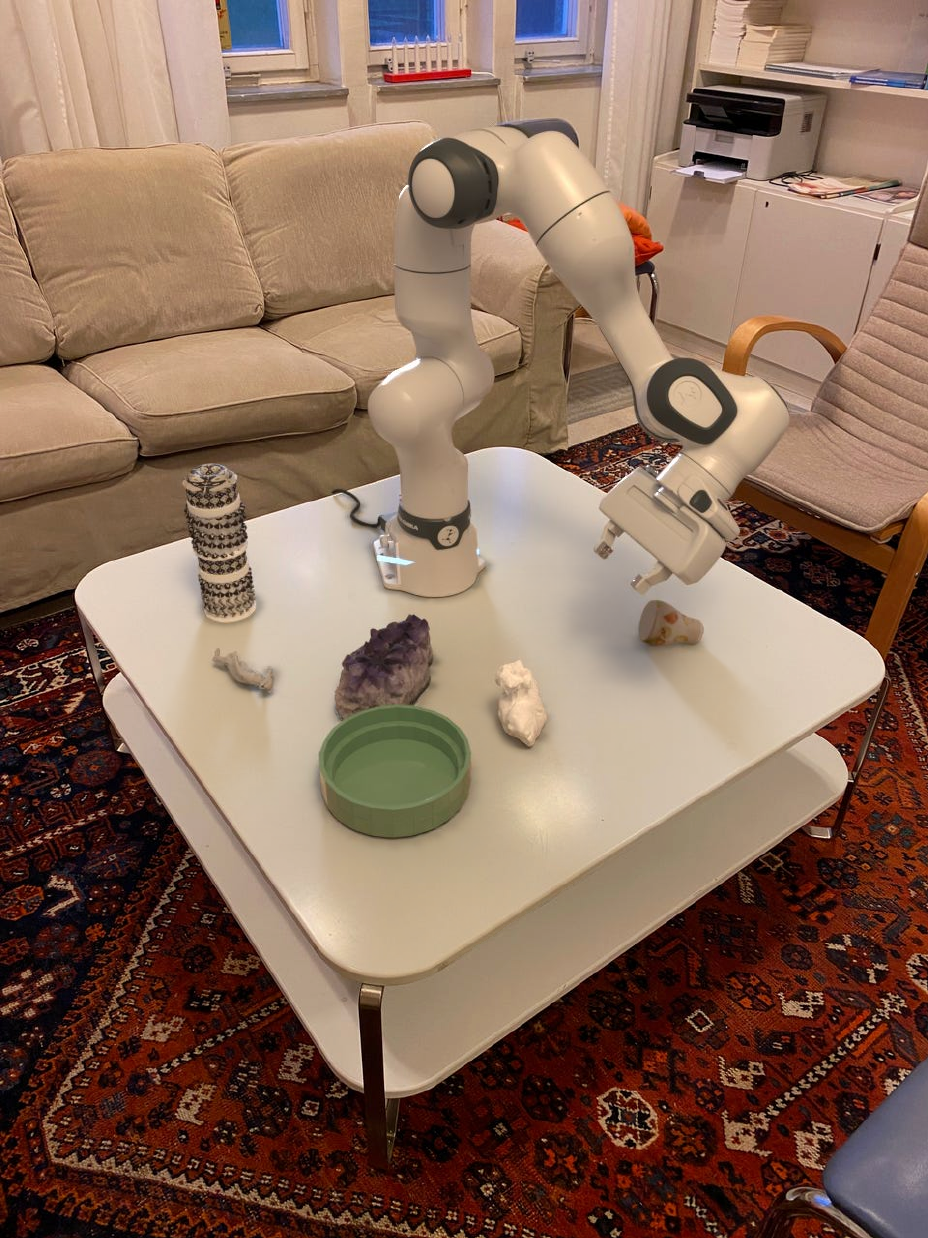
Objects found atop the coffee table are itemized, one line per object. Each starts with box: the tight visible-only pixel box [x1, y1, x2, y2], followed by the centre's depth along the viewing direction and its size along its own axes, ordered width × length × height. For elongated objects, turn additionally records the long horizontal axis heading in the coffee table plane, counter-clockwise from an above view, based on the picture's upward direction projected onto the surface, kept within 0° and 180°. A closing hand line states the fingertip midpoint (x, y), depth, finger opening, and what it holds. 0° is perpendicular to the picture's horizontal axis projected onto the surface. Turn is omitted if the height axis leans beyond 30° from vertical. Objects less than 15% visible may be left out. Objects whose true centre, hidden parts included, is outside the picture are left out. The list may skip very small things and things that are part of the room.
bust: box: [494, 659, 548, 747], centre depth 131 cm, size 12×8×11 cm
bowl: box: [318, 704, 472, 838], centre depth 122 cm, size 19×19×6 cm
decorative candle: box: [181, 463, 257, 624], centre depth 150 cm, size 9×9×25 cm
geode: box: [334, 613, 434, 721], centre depth 137 cm, size 20×12×10 cm, turn 160°
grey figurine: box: [211, 647, 275, 693], centre depth 140 cm, size 8×5×12 cm
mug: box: [638, 599, 705, 646], centre depth 149 cm, size 8×10×10 cm
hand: (616, 572), depth 125 cm, fingers open, 8 cm apart
